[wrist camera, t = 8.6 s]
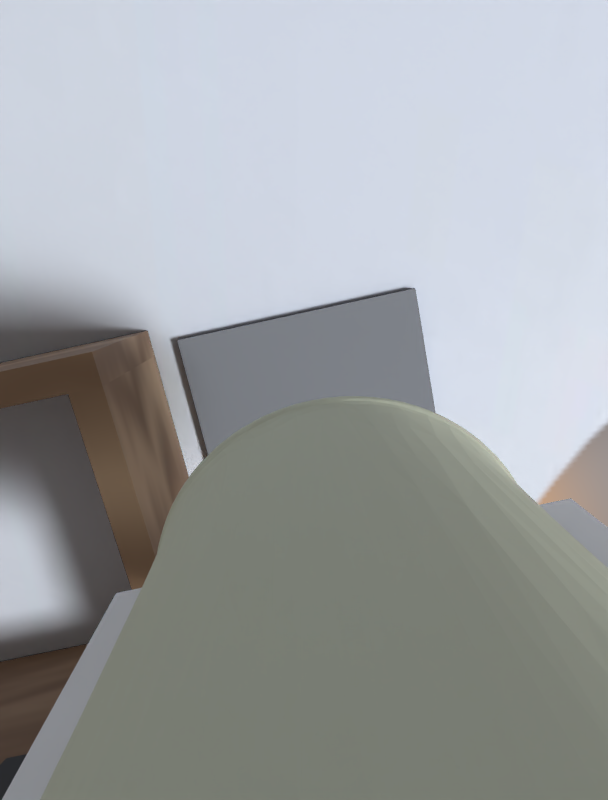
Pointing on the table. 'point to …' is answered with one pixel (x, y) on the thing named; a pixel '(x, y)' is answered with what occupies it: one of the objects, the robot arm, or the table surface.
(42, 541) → the table surface
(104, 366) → the crate
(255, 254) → the table surface
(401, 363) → the mat
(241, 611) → the can
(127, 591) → the robot arm
